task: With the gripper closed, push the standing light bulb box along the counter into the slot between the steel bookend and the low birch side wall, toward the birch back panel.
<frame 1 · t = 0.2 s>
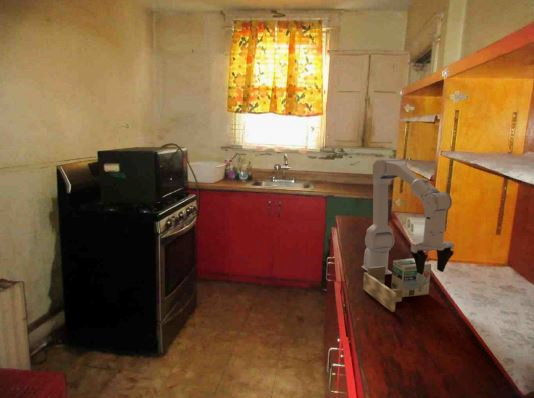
hand: (430, 271, 120), 10 cm above the worktop, tool pointing down, fingers open, 7 cm apart
light bulb box: (409, 292, 129), on the worktop
shelf slot: (382, 295, 126), on the worktop
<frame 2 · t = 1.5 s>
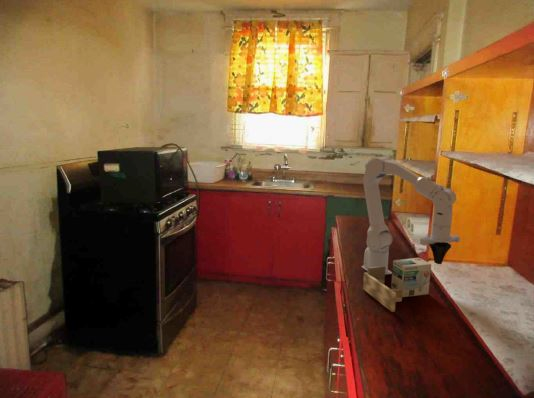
hand: (437, 263, 130), 9 cm above the worktop, tool pointing down, fingers closed
nothing on the worktop moved.
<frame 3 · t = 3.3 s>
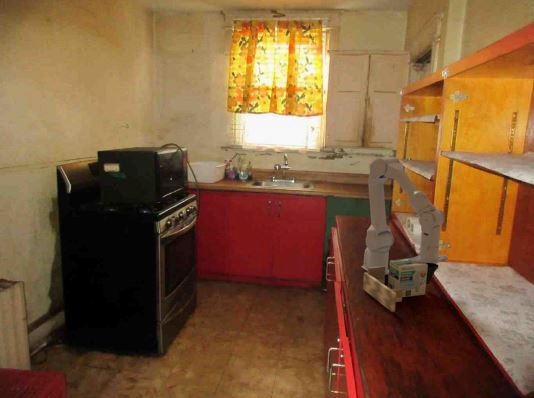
hand: (425, 283, 130), 2 cm above the worktop, tool pointing down, fingers closed
light bulb box: (406, 292, 128), on the worktop, touching gripper
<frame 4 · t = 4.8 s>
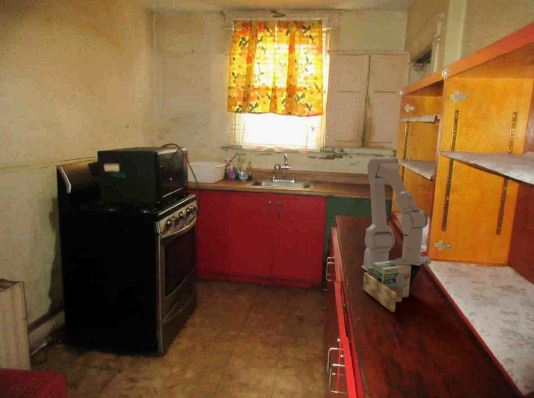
hand: (408, 285, 128), 2 cm above the worktop, tool pointing down, fingers closed
light bulb box: (389, 295, 126), on the worktop, touching gripper, shelf slot
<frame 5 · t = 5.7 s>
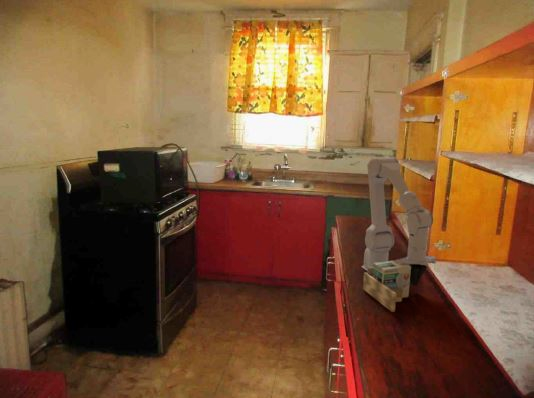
hand: (414, 284, 128), 2 cm above the worktop, tool pointing down, fingers closed
light bulb box: (389, 295, 126), on the worktop
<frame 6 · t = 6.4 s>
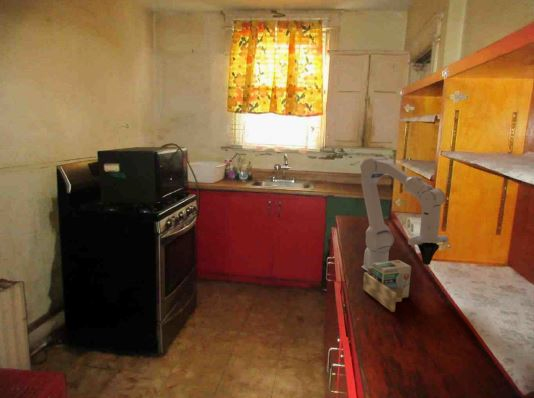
hand: (426, 263, 129), 9 cm above the worktop, tool pointing down, fingers closed
nothing on the worktop moved.
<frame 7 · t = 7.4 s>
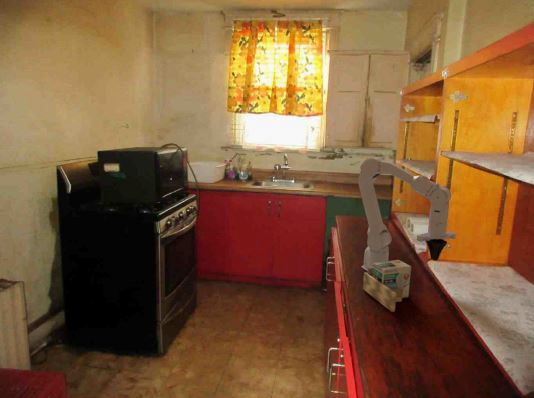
hand: (434, 259, 133), 9 cm above the worktop, tool pointing down, fingers closed
nothing on the worktop moved.
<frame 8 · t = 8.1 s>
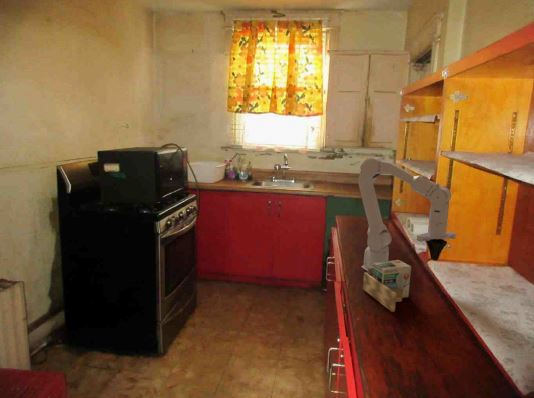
hand: (434, 259, 133), 9 cm above the worktop, tool pointing down, fingers closed
nothing on the worktop moved.
at the end: light bulb box 0.3 cm from the target spot, on the worktop; light bulb box tilted 0°; the gripper is holding nothing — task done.
